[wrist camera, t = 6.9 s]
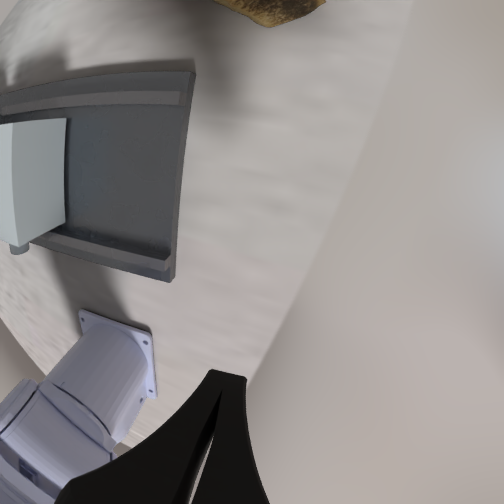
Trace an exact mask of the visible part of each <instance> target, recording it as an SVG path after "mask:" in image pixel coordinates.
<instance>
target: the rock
mask: <svg viewBox="0 0 504 504" xmlns="http://www.w3.org/2000/svg"><path fill="white" fill-rule="evenodd" d="M214 1H215V2H217V3H218V4H221V5H224V6H226V7H228V8H229V9H231V10H232V11H236V12H238V13H241V14H243V15H246V16H248V17H249V18H250V19H251V20H253V21H254V22H256V23H257V24H260V25H262V26H265V27H274V26H277V25H280V24H283V23H286V22H289V21H292V20H294V19H297V18H300V17H303V16H305V15H307V14H309V13H310V12H312V11H314V10H315V9H316V8H317V7H318V6H320V5H321V4H323V3H325V2H326V1H325V0H214Z"/></svg>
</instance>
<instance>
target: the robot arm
mask: <svg viewBox="0 0 504 504" xmlns="http://www.w3.org/2000/svg"><path fill="white" fill-rule="evenodd" d="M78 315H79V319H80V324H81V328H82V333H83V336H82V337H81V338H80V339H79V340H78V341H77V342H76V343H75V344H74V345H73V347H72V348H71V349H70V350H69V351H68V352H67V353H66V354H65V356H64V357H63V358H62V359H61V360H60V361H59V362H58V364H57V365H56V366H55V367H54V368H53V369H52V370H51V372H50V373H49V374H48V375H47V376H46V377H45V379H44V380H43V381H42V382H40V383H39V384H37V382H36V381H35V380H34V379H30V380H29V379H23V380H22V381H21V382H19V384H17V386H16V387H15V388H14V389H13V390H12V391H11V392H10V393H9V394H8V395H7V397H6V398H5V399H4V400H3V401H2V402H1V403H0V504H189V500H190V497H191V494H192V490H193V487H194V483H195V480H196V478H197V475H198V472H199V469H200V467H201V465H202V462H203V460H204V458H205V455H206V453H207V450H208V448H209V445H210V443H211V441H212V438H213V441H212V445H211V448H210V451H209V454H208V457H207V460H206V463H205V466H204V469H203V472H202V475H201V478H200V481H199V484H198V487H197V489H196V492H195V495H194V498H193V500H192V503H191V504H270V503H269V501H268V498H267V496H266V493H265V491H264V488H263V486H262V483H261V480H260V477H259V474H258V470H257V467H256V463H255V460H254V456H253V451H252V447H251V442H250V437H249V431H248V423H247V416H246V396H245V395H246V383H247V379H246V378H245V377H244V376H239V375H235V374H231V373H226V372H222V371H218V370H214V369H211V370H209V371H208V373H207V375H206V376H205V378H204V379H203V381H202V382H201V383H200V385H199V386H198V387H197V389H196V390H195V391H194V392H193V394H192V395H191V396H190V397H189V398H188V399H187V401H186V402H185V403H184V404H183V405H182V406H181V407H180V408H179V409H178V410H177V411H176V412H175V413H174V414H173V415H172V416H171V417H170V418H169V419H168V420H167V421H166V422H165V423H164V424H163V425H162V426H161V427H160V428H158V429H157V430H156V431H155V432H154V433H152V434H151V435H150V436H149V437H147V438H146V439H145V440H143V441H142V442H141V443H139V444H138V445H136V446H135V447H134V448H132V449H131V450H129V451H128V452H126V453H124V454H123V455H121V456H119V457H117V455H116V453H115V452H113V449H114V447H115V445H116V444H117V443H119V442H120V441H122V440H123V439H124V438H125V437H126V436H127V434H128V432H129V430H130V428H131V426H132V425H133V423H134V421H135V419H136V417H137V415H138V413H139V411H140V410H141V408H142V406H143V404H144V402H145V400H146V398H147V397H148V398H151V399H156V398H157V389H156V380H155V370H154V359H153V346H152V336H151V335H150V334H149V333H148V332H146V331H142V330H139V329H136V328H133V327H130V326H127V325H124V324H121V323H119V322H116V321H113V320H110V319H107V318H105V317H102V316H99V315H96V314H94V313H91V312H88V311H86V310H83V309H81V310H80V311H79V312H78ZM146 341H147V342H146ZM213 436H214V437H213Z"/></svg>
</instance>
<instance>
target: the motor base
mask: <svg viewBox="0 0 504 504" xmlns="http://www.w3.org/2000/svg"><path fill="white" fill-rule="evenodd" d="M195 77H196V74H194V73H193V72H191V71H152V72H130V73H117V74H106V75H97V76H89V77H82V78H75V79H69V80H63V81H57V82H52V83H47V84H42V85H38V86H33V87H29V88H25V89H21V90H17V91H13V92H10V93H6V94H3V95H0V125H2V124H9V123H16V122H24V121H34V120H44V119H58V118H66V130H65V147H64V206H65V223H63V224H61V225H59V226H57V227H55V228H53V229H51V230H49V231H47V232H45V233H44V234H42V235H40V236H38V237H36V238H34V239H32V240H31V241H29V242H30V243H33V244H36V245H39V246H42V247H45V248H48V249H51V250H55V251H58V252H61V253H64V254H68V255H71V256H74V257H77V258H81V259H84V260H87V261H91V262H94V263H98V264H101V265H105V266H108V267H112V268H115V269H119V270H122V271H126V272H130V273H133V274H137V275H141V276H145V277H148V278H152V279H156V280H160V281H164V282H168V283H170V282H171V281H172V280H173V279H174V277H175V269H176V248H177V231H178V217H179V204H180V193H181V182H182V172H183V163H184V154H185V146H186V138H187V130H188V123H189V115H190V109H191V102H192V96H193V89H194V83H195Z"/></svg>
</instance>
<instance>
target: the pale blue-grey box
mask: <svg viewBox="0 0 504 504" xmlns="http://www.w3.org/2000/svg"><path fill="white" fill-rule="evenodd" d="M65 130H66V118H58V119H44V120H34V121H24V122H16V123H9V124H2V125H0V240H1V241H4V242H6V243H9V246H10V251H11V254H14V255H19V254H23V253H25V252H27V251H28V250H29V241H31V240H32V239H34V238H36V237H38V236H40V235H42V234H44V233H45V232H47V231H49V230H51V229H53V228H55V227H57V226H59V225H61V224H63V223H65V206H64V147H65Z"/></svg>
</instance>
